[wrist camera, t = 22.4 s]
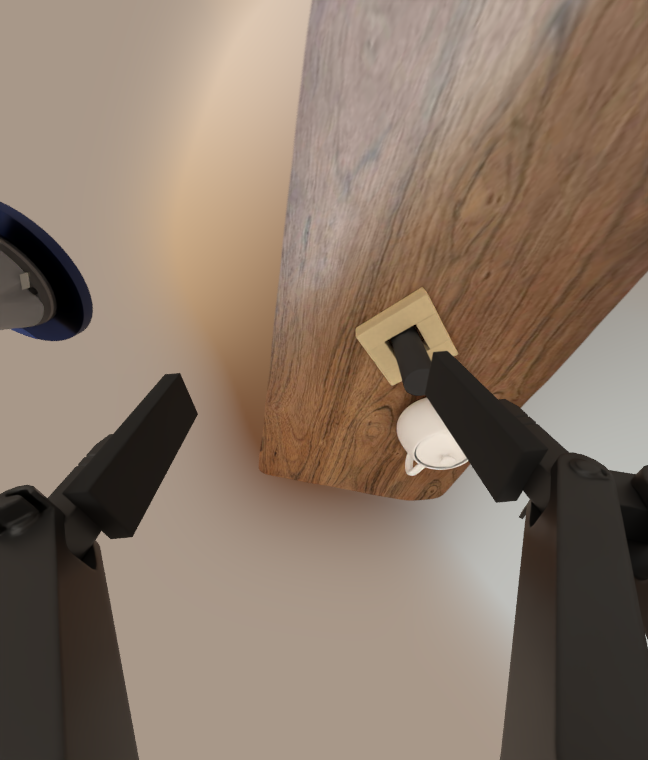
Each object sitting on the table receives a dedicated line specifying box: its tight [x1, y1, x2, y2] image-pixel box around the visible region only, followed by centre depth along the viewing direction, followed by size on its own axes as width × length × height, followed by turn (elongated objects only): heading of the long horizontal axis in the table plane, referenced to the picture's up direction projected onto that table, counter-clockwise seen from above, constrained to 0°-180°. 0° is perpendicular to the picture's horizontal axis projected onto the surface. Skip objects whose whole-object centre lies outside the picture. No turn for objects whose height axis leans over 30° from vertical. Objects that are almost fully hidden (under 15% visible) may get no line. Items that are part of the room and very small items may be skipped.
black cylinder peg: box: [391, 326, 431, 396], centre depth 35 cm, size 4×4×12 cm
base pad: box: [356, 287, 458, 386], centre depth 38 cm, size 11×11×3 cm
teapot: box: [397, 397, 468, 476], centre depth 44 cm, size 22×14×11 cm, turn 159°
